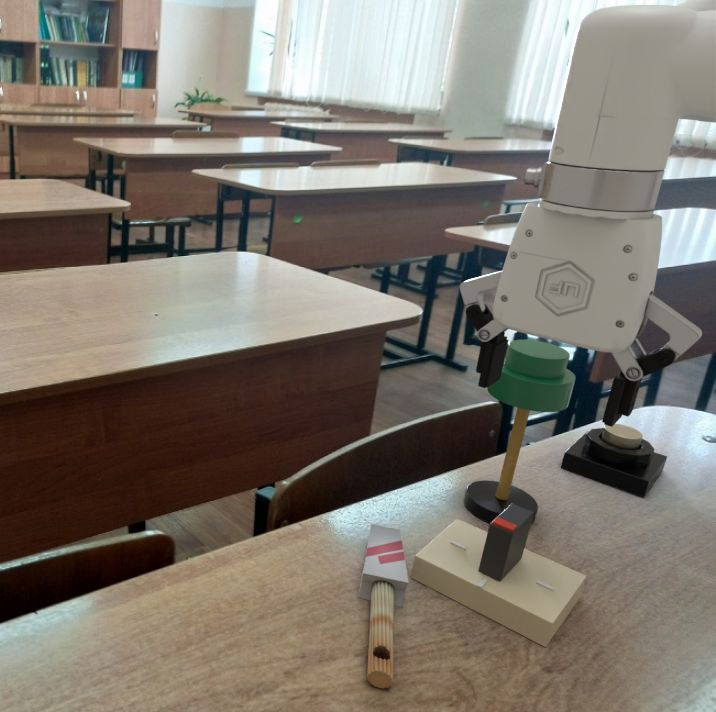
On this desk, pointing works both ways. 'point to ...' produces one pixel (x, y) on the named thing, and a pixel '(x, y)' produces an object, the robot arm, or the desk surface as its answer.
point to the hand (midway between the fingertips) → (547, 401)
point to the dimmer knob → (505, 542)
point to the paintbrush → (383, 598)
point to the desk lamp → (522, 417)
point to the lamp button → (622, 437)
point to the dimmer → (499, 583)
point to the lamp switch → (614, 463)
